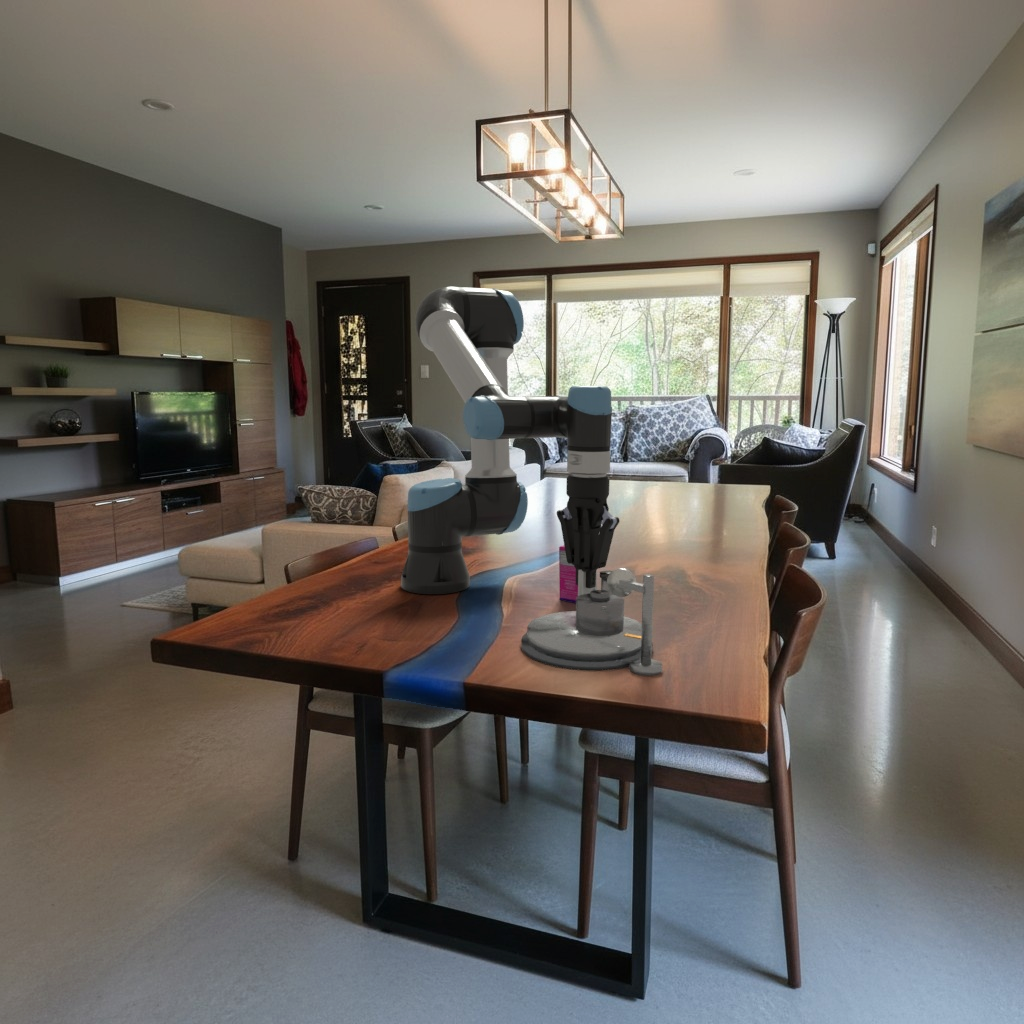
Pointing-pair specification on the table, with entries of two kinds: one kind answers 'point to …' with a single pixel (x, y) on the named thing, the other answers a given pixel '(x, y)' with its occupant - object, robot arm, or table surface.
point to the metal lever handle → (621, 586)
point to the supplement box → (567, 578)
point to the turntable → (582, 636)
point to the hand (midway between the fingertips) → (585, 604)
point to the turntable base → (576, 664)
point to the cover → (599, 613)
